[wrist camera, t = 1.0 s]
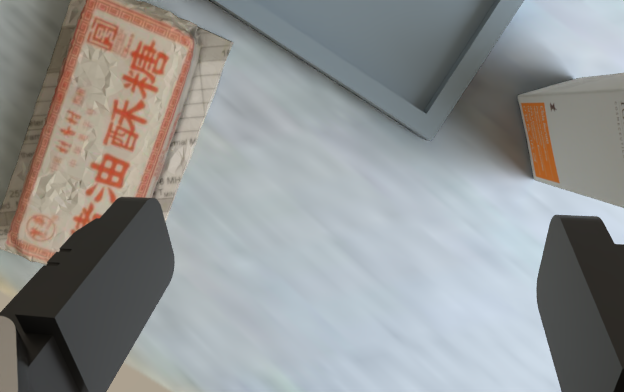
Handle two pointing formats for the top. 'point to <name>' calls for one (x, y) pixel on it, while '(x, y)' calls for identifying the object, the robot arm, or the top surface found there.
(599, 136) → the skincare box
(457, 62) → the tray
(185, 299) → the top surface
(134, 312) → the robot arm
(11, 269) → the top surface
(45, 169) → the packaged product
